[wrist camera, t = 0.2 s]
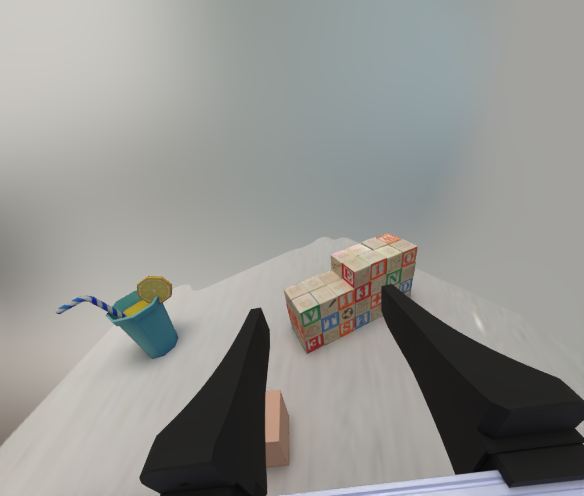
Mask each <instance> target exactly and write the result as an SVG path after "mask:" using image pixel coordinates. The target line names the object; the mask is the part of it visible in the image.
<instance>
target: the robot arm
mask: <svg viewBox="0 0 584 496" xmlns="http://www.w3.org/2000/svg"><path fill="white" fill-rule="evenodd" d="M381 312H382V314H383V317H384V319H385V321H386V324H387V326H388V328H389V330H390V332H391V333H392V335H393V337H394V339H395V341H396V342H397V344H398V346H399V348H400V349H401V351H402V353H403V355H404V357H405V358H406V360H407V362H408V364H409V366H410V367H411V369H412V371H413V373H414V376H415V378H416V380H417V382H418V384H419V387H420V389H421V391H422V393H423V396H424V398H425V400H426V403H427V405H428V407H429V410H430V412H431V414H432V417H433V419H434V422H435V424H436V426H437V429H438V431H439V434H440V436H441V439H442V441H443V444H444V446H445V449H446V451H447V454H448V457H449V459H450V462H451V464H452V467H453V470H454V472H455V475H451V476H442V477H433V478H425V479H416V480H407V481H399V482H390V483H381V484H373V485H364V486H355V487H347V488H338V489H330V490H321V491H312V492H304V493H295V494H286V495H278V496H584V445H583V443H584V437H583V436H582V435H581V434H580V433H579V432H578V431H577V430H576V429H575V428H576V427H577V426H578V425H579V424H580V423H581V422H582V421H583V420H584V400H583V399H582V398H581V397H580V396H579V395H577V394H576V393H575V392H574V391H573V390H572V389H571V388H570V387H569V386H568V385H566V384H565V383H564V382H563V381H562V380H561V379H559V378H557V377H554V376H552V375H550V374H547V373H545V372H542V371H540V370H537V369H535V368H532V367H530V366H527V365H525V364H522V363H520V362H518V361H516V360H514V359H511V358H509V357H507V356H505V355H502V354H500V353H498V352H496V351H494V350H492V349H490V348H488V347H486V346H484V345H482V344H480V343H478V342H476V341H474V340H473V339H471V338H469V337H467V336H465V335H464V334H462V333H460V332H458V331H457V330H455V329H453V328H452V327H450V326H448V325H447V324H445V323H444V322H442V321H441V320H439V319H438V318H436V317H435V316H433V315H432V314H430V313H429V312H428V311H426V310H425V309H424V308H422V307H421V306H419V305H418V304H417V303H415V302H414V301H413V300H412V299H410V298H409V297H408V296H406V295H405V294H404V293H403V292H401V291H400V290H399V289H398V288H397V287H395V286H394V285H393V284H389V285H384V286H381ZM269 351H270V330H269V327H268V324H267V322H266V319H265V317H264V314H263V312H262V309H261V308H256V309H251V310H250V312H249V314H248V316H247V318H246V320H245V322H244V324H243V326H242V328H241V330H240V332H239V333H238V335H237V337H236V339H235V341H234V342H233V344H232V346H231V347H230V349H229V351H228V352H227V354H226V355H225V357H224V359H223V360H222V362H221V363H220V364H219V366H218V367H217V369H216V370H215V372H214V373H213V374H212V376H211V377H210V378H209V379H208V381H207V382H206V383H205V385H204V386H203V387H202V388H201V390H200V391H199V392H198V393H197V394H196V395H195V397H194V398H193V399H192V400H191V401H190V402H189V403H188V404H187V406H186V407H185V408H184V409H183V410H182V411H181V412H180V413H179V414H178V415H177V416H176V417H175V418H174V419H173V420H172V421H171V422H170V423H169V424H168V425H167V426H166V427H165V428H164V429H163V430H162V431H161V432H160V433H159V434H158V435H157V436H156V438H155V440H154V443H153V445H152V447H151V449H150V452H149V454H148V457H147V460H146V462H145V465H144V467H143V470H142V472H141V475H140V477H139V478H140V481H141V483H142V484H144V485H145V486H147V487H149V488H150V489H152V490H154V491H156V492H158V493H160V496H266V494H267V474H266V439H265V396H266V381H267V371H268V361H269Z"/></svg>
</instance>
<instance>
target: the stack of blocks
mask: <svg viewBox="0 0 584 496" xmlns="http://www.w3.org/2000/svg"><path fill="white" fill-rule="evenodd" d="M416 253H417V246H416V245H414V244H412V243H409V242H407V241H405V240H401V239H400V238H398V237H396V236H393V235H391V234H385V235H382V236H379V237H376V238H371V239H369V240H366V241H364V242H361V244H360V243H359V244H356V245H354V246H351V247H349V248H347V249H344V250H341V251H339V252H336V253H334V254H331V270H330V271H327V272H325V273H322V274H320V275H318V276H314V277H312V278H309V279H307V280H304V281H301V282H300V283H297V284H295V285H292V286H290V287H287V288H285V289H284V293H285V298H286V302H287V308H288V313H289V317H290V321H291V325H292V328H293V330H294V331H295V333H296V335H297V337H298V339H299V341H300V342H301V344H302V346H303V348H304V350H305V351H306V353H309V352H311V351H313V350H315V349H317V348H319V347H321V346H323V345H326V344H328V343H330V342H332V341H334V340H336V339H338V338H339V337H342V336H344V335H346V334H348V333H350V332H352V331H354V330H355V329H357V328H359V327H361V326H363V325H365V324H367V323H369V322H371V321H373V320H375V319H377V318H379V317H381V316H383V314H382V312H381V286H384V285H389V284H393V285H394V286H395V287H397V288H398V289H399V290H400V291H401V292H403V293H404V294H405V295H406V296H408V297H409V298H410V295H411V287H412V280H413V276H414V270H415V263H416V262H415V259H416Z"/></svg>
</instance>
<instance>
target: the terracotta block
mask: <svg viewBox="0 0 584 496" xmlns="http://www.w3.org/2000/svg"><path fill="white" fill-rule="evenodd" d="M265 439H266V467H273V466H284V465H289V415H288V412H287V409H286V406H285V403H284V400H283V397H282V394H281V391H280V390H276V391H267V392H266V396H265Z"/></svg>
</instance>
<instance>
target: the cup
mask: <svg viewBox="0 0 584 496" xmlns="http://www.w3.org/2000/svg"><path fill="white" fill-rule="evenodd" d="M171 295H172V284H171V283H169V282H168V281H167V280H166V279H164V278H163V277H156V276H148V277H146V278H145V279H144V280H142V281H141V282H140V283H138V285H137V291H134V292H132V293H130V294H129V295H127V296H125V297H124V298H122V299H120V300H119V301H117V302H116V303H115V304H114V306H113V307H111V306H109V305H107V304H105V303H104V302H102V301H100V300H98V299H96V298H95V297H92V296H80V297H78V298H76V299H74V300H72V301H71V302H69V303H67V304H65V305H63V306H62V307H60V308H58V309H57V310H55V312H56V313H57V314H61V313H62V312H64V311H66V310H68V309H70V308H72V307H74V306H76V305H77V304H79V303H81V302H83V301H87V302H91V303H92V304H94V305H96V306H98V307H100V308H102V309H104V310H106V311H108V313H107V314H106V316H107V317H108V318H109V319H110V320H111V321H112V323H114V324H115V325H116V326H120V327H121V328H122V329H123V330H124V331H125V332H126V333H127V334H128V335H129V336H130V337H131V338H132V339H133V340H134V341H135V342H136V343H137V344H138V345H139V346H140V347H141V348H142V349H143V350H144V351H145V352H146V353H147V354H148V355H149V356H150V357H151V358H152V359H153V358H156V357H160V356H164V355H165V354H167V353H168V352H169V351H170V350H171V349H172V348H174V347H175V345H176V342H177V339H178V336H177V334H176V331H175V329H174V327H173V325H172V322H171V320H170V318H169V316H168V314H167V311H166V309H165V307H164V305H163V302H164V301H166V300H167V299H168V298H170V297H171Z"/></svg>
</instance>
